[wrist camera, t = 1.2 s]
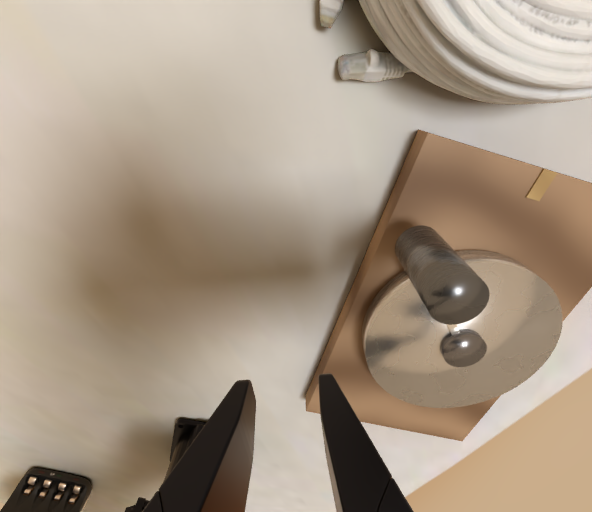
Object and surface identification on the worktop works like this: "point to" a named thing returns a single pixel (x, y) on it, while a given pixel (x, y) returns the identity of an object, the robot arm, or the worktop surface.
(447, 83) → the cable
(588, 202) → the board
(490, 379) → the metal disc with handle
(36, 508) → the battery charger
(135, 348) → the worktop surface
